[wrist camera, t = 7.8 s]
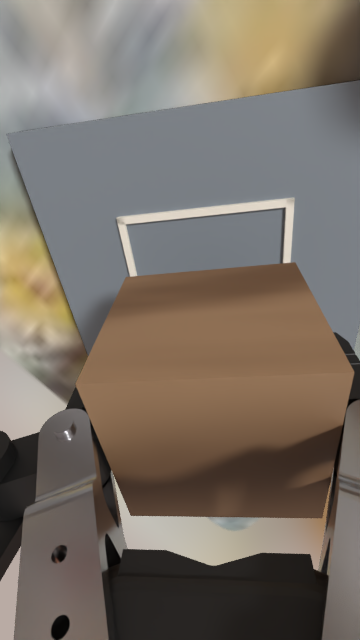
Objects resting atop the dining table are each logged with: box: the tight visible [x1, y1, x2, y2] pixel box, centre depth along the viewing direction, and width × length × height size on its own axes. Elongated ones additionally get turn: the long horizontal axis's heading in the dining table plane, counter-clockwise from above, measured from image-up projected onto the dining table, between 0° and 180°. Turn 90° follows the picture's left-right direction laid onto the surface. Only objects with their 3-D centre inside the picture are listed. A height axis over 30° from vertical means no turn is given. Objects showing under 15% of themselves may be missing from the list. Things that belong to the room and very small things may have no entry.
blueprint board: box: [6, 80, 360, 356], centre depth 15 cm, size 14×14×1 cm
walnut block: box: [75, 262, 354, 518], centre depth 10 cm, size 6×6×5 cm
